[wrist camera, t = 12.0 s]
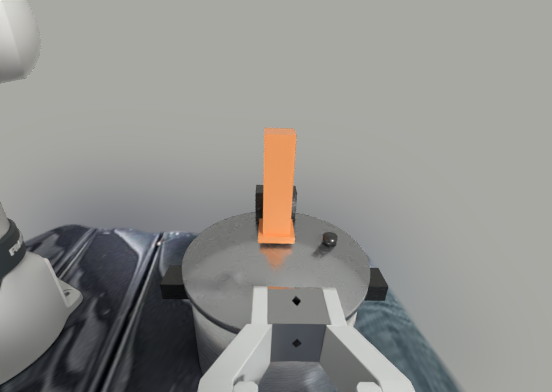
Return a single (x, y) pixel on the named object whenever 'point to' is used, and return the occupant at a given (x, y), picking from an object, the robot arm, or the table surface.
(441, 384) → the table surface
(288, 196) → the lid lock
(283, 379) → the cooker
